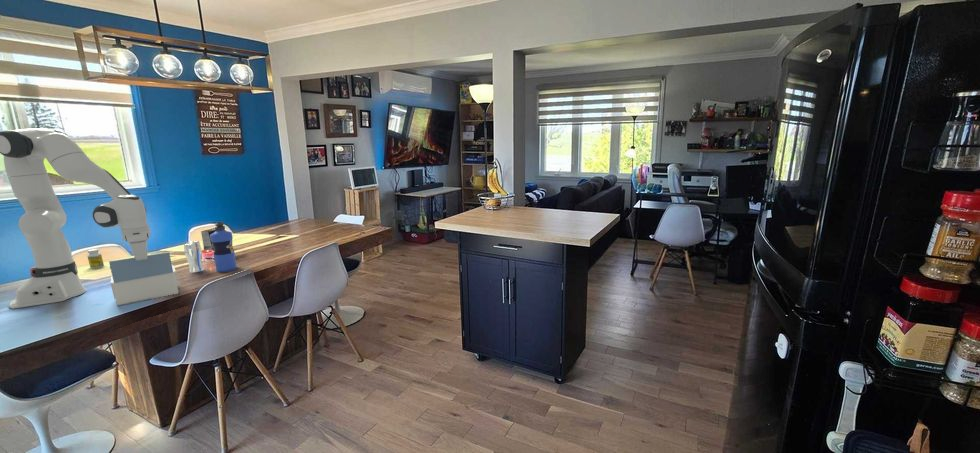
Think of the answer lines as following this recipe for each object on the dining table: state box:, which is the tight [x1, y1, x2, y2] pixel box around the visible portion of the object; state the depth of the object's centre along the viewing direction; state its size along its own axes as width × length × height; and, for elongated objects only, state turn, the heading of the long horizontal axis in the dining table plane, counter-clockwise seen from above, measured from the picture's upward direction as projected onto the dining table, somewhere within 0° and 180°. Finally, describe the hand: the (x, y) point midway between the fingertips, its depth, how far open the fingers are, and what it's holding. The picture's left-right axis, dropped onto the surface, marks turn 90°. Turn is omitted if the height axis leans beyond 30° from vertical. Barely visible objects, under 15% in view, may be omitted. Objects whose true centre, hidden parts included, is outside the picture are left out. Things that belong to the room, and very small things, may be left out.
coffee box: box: [200, 227, 216, 251], centre depth 232 cm, size 9×6×16 cm
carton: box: [110, 264, 180, 307], centre depth 175 cm, size 21×14×10 cm
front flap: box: [108, 251, 173, 283], centre depth 168 cm, size 19×9×1 cm
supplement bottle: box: [87, 248, 105, 269], centre depth 216 cm, size 5×5×10 cm
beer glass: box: [183, 240, 205, 274], centre depth 207 cm, size 7×7×15 cm
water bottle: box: [210, 221, 238, 273], centre depth 207 cm, size 9×9×25 cm
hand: (143, 266), depth 170 cm, fingers closed
